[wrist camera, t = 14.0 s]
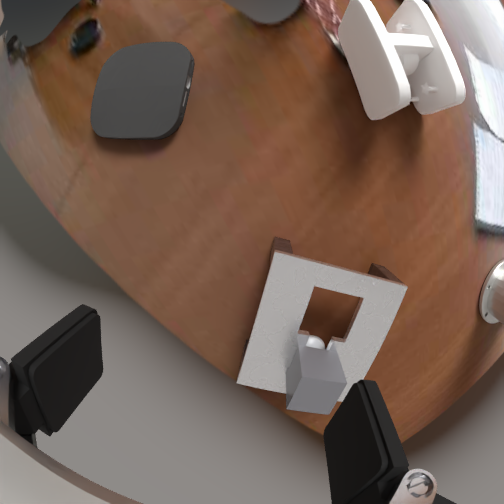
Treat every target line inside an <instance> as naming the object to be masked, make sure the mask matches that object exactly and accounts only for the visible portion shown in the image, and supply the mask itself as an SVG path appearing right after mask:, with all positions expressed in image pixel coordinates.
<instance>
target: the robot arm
mask: <svg viewBox="0 0 504 504" xmlns="http://www.w3.org/2000/svg"><path fill="white" fill-rule="evenodd" d="M479 309H480V314H481V316H482V318H483V319H484V320H485V321H486V322H488V323H491V324H492V323H497V322H499V321H500V322H501V323H502V324H503V325H504V259H503V260H501V261H499V262H498V263H497V264H496V265H495V266H494V267H493V268H492V270H491V271H490V273H489V274H488V276H487V278H486V280H485V282H484V285H483V287H482V291H481V295H480V302H479ZM100 328H101V327H100V316H99V315H98V314H97V311H96V310H95V309H93V308H91V307H88V306H86V305H83V304H82V305H80V306H79V307H77V308H76V309H75V310H73V311H72V312H71V313H69V314H68V315H66V316H65V317H64V318H62V319H61V320H60V321H58V322H57V323H56V324H54V325H53V326H52V327H51V328H49V329H48V330H47V331H45V332H44V333H43V334H42V335H40V336H39V337H37V338H36V339H35V340H34V341H33V342H31V343H30V344H29V345H27V346H26V347H25V348H24V349H22V350H21V351H20V352H19V353H17V354H16V355H15V356H14V357H13V358H12V359H11V360H12V362H11V363H10V364H8V362H7V361H6V360H5V359H4V358H2V357H0V504H142V503H139V502H137V501H134V500H132V499H129V498H127V497H124V496H122V495H120V494H117V493H115V492H113V491H111V490H109V489H107V488H104V487H102V486H100V485H98V484H96V483H94V482H92V481H90V480H89V479H87V478H84V477H83V476H81V475H79V474H77V473H76V472H74V471H72V470H71V469H69V468H67V467H65V466H64V465H62V464H61V463H59V462H57V461H56V460H54V459H52V458H51V457H50V456H48V455H47V454H45V453H44V452H42V451H41V450H39V449H38V448H37V442H36V435H35V433H36V432H37V430H38V429H39V430H41V431H42V432H44V433H45V434H47V435H48V436H51V435H52V433H53V432H58V431H59V430H60V428H61V427H62V426H63V425H64V423H65V422H66V421H67V419H68V418H69V417H70V415H71V414H72V413H73V412H74V410H75V409H76V408H77V406H78V405H79V404H80V403H81V401H82V400H83V399H84V397H85V396H86V395H87V393H88V392H89V391H90V390H91V389H92V387H93V386H94V385H95V384H96V382H97V381H98V380H99V379H100V377H101V376H102V373H103V362H102V347H101V329H100ZM324 443H325V451H326V458H327V466H328V473H329V482H330V490H331V500H332V504H456V503H454V502H452V501H450V500H448V499H446V498H444V497H442V496H441V495H439V494H437V493H436V491H437V483H436V480H435V478H434V477H433V476H432V475H431V474H430V473H429V472H427V471H425V470H422V469H413V470H411V471H409V470H408V466H409V464H408V461H407V458H406V455H405V453H404V450H403V447H402V445H401V442H400V439H399V437H398V434H397V432H396V429H395V427H394V424H393V422H392V419H391V417H390V414H389V412H388V409H387V407H386V404H385V402H384V400H383V397H382V395H381V393H380V390H379V388H378V386H377V383H376V382H375V381H371V380H359V381H358V382H357V383H354V384H353V385H352V387H351V388H350V390H349V392H348V393H347V395H346V397H345V398H344V400H343V402H342V403H341V405H340V406H339V408H338V410H337V411H336V413H335V414H334V416H333V417H332V419H331V420H330V422H329V423H328V425H327V426H326V428H325V430H324Z"/></svg>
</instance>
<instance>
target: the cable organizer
mask: <svg viewBox="0 0 504 504" xmlns="http://www.w3.org/2000/svg"><path fill="white" fill-rule="evenodd" d="M338 37H339V41H340V44H341V46H342V49H343V51H344V54H345V56H346V59H347V61H348V64H349V66H350V69H351V72H352V74H353V77H354V80H355V83H356V86H357V88H358V91H359V94H360V97H361V100H362V104H363V107H364V110H365V112H366V114H367V116H368V117H369V118H370V119H371V120H379V119H383V118H385V117H387V116H389V115H390V114H392V113H394V112H396V111H398V110H400V109H402V108H404V107H406V106H407V105H408V104H409V105H410V102H413V104H414V106H415V108H416V109H417V111H418V112H419V113H420V114H433V113H436V112H438V111H441V110H444V109H447V108H449V107H452V106H455V105H458V104H461V103H463V101H464V99H465V85H464V82H463V79H462V76H461V74H460V71H459V68H458V66H457V64H456V61H455V59H454V56H453V54H452V52H451V50H450V47H449V45H448V43H447V41H446V39H445V37H444V35H443V33H442V31H441V29H440V27H439V25H438V23H437V21H436V19H435V18H434V16H433V14H432V12H431V11H430V9H429V7H428V6H427V5H426V4H425V3H424V2H423V1H422V0H404V2H403V3H402V4H401V6H400V7H399V8H398V10H397V11H396V12H395V13H394V15H393V16H392V17H391V19H390V20H389V21H388V23H387V24H386V28H385V26H384V24H383V22H382V20H381V18H380V17H379V15H378V13H377V11H376V9H375V7H374V6H373V4H372V3H371V1H370V0H350V2H349V5H348V7H347V9H346V12H345V14H344V16H343V19H342V21H341V23H340V26H339V28H338Z"/></svg>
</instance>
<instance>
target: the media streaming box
mask: <svg viewBox="0 0 504 504" xmlns="http://www.w3.org/2000/svg"><path fill="white" fill-rule="evenodd" d="M193 70H194V58H193V56H192V55H191V53H190V52H189V50H188V49H187V48H186V47H185V46H183V45H182V44H179V43H176V42H152V43H143V44H137V45H132V46H128V47H125V48H122V49H120V50H118V51H117V52H115V53H114V54H113V55H112V56H111V57H110V58H109V59H108V60H107V61H106V63H105V64H104V66H103V67H102V70H101V72H100V75H99V78H98V80H97V84H96V87H95V91H94V96H93V101H92V108H91V124H92V127H93V130H94V131H95V133H96V134H97V135H99V136H101V137H105V138H112V139H139V140H145V139H163V138H166V137H168V136H170V135H171V134H172V133H174V132H175V131H176V130H177V129H178V127H179V126H180V125H181V123H182V121H183V117H184V113H185V109H186V105H187V101H188V96H189V91H190V86H191V81H192V76H193ZM185 102H186V103H185Z"/></svg>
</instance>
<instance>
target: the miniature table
mask: <svg viewBox="0 0 504 504" xmlns="http://www.w3.org/2000/svg"><path fill="white" fill-rule="evenodd" d="M314 286H316V287H320V288H325V289H329V290H333V291H337V292H341V293H345V294H349V295H353V296H358V297H360V300H359V302H358V305H357V307H356V310H355V312H354V315H353V317H352V319H351V322H350V324H349V326H348V329H347V331H346V333H345V335H344V338H338V337H333V336H332V338H331V340H330V342H329V344H328V347H327V349H326V350H330V351H335V352H338V356H339V359H340V362H341V365H342V368H343V371H344V374H345V377H346V381H347V385H346V387H345V388H344V390H343V392H342V394H341V395H340V397H339V399H338V400H337V401H342V402H343V400H344V398H345V397H346V395H347V393H348V392H349V390H350V388H351V387H352V385H353V384H354V383H357V382H358V381H359V380H363V379H364V377H365V375H366V373H367V372H368V370H369V368H370V366H371V364H372V363H373V361H374V359H375V357H376V355H377V353H378V351H379V349H380V347H381V345H382V343H383V341H384V339H385V337H386V335H387V333H388V331H389V329H390V327H391V325H392V322H393V320H394V318H395V316H396V314H397V311H398V309H399V307H400V304H401V302H402V300H403V297H404V295H405V292H406V290H407V286H406V285H405V284H404V283H403V282H402V281H400V280H399V279H398V278H397V277H396V276H395V275H393V274H392V273H391V272H390V271H389V270H388V269H386V268H385V267H384V266H381V265H377V264H374V263H372V264H371V267H370V270H369V273H368V274H366V273H362V272H358V271H355V270H351V269H347V268H343V267H340V266H336V265H332V264H328V263H324V262H321V261H317V260H313V259H309V258H305V257H302V256H298V255H294V254H293V251H292V248H291V244H290V240H286V239H282V238H278V237H274V241H273V245H272V249H271V257H270V269H269V273H268V276H267V280H266V283H265V287H264V290H263V294H262V297H261V301H260V304H259V308H258V311H257V315H256V318H255V322H254V325H253V328H252V332H251V335H250V339H249V340H246V341H245V345H244V348H243V353H242V358H241V363H240V368H239V373H238V379H237V383H238V384H242V385H246V386H250V387H255V388H260V389H265V390H269V391H275V392H280V393H285V394H286V373H287V371H288V369H289V366H290V364H291V361H292V359H293V356H294V354H295V351H296V349H297V346H298V344H299V345H303V346H306V344H307V341H308V339H309V336H310V335H309V332H308V331H304V330H299V328H300V325H301V322H302V319H303V317H304V314H305V311H306V308H307V305H308V303H309V300H310V297H311V294H312V291H313V288H314Z"/></svg>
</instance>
